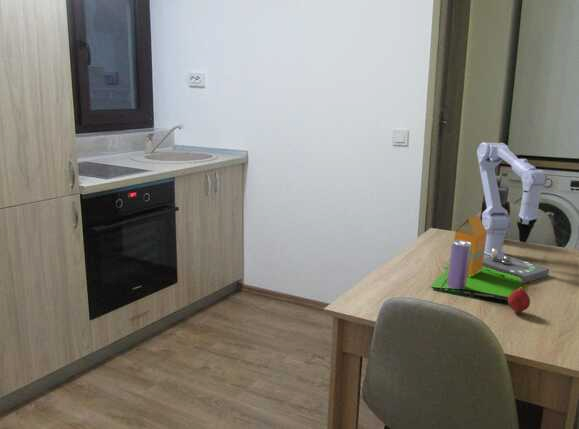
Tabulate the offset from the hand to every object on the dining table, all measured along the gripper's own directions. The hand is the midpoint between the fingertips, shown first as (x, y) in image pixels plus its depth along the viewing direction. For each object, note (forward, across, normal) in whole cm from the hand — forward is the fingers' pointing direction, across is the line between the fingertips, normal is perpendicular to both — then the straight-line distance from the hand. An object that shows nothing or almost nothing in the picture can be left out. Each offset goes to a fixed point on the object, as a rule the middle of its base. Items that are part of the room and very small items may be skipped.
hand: (523, 239), depth 193 cm
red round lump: (+11, -47, -4) cm, 49 cm away
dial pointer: (+8, -8, +2) cm, 12 cm away
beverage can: (+11, -37, +15) cm, 41 cm away
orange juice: (+11, -19, +16) cm, 27 cm away
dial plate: (+10, -8, +2) cm, 13 cm away
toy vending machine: (+11, +32, +15) cm, 37 cm away
